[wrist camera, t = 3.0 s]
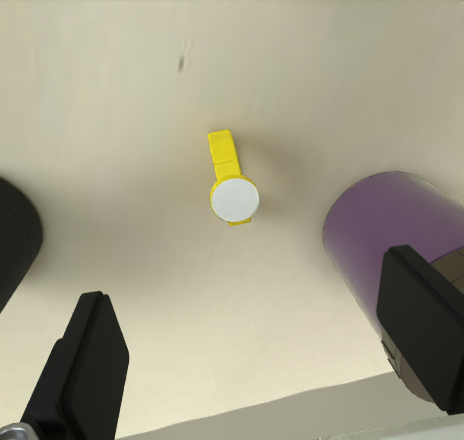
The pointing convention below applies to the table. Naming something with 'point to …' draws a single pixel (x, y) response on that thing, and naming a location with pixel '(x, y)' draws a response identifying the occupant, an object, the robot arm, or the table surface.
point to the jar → (388, 230)
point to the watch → (230, 182)
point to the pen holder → (16, 240)
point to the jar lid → (455, 271)
